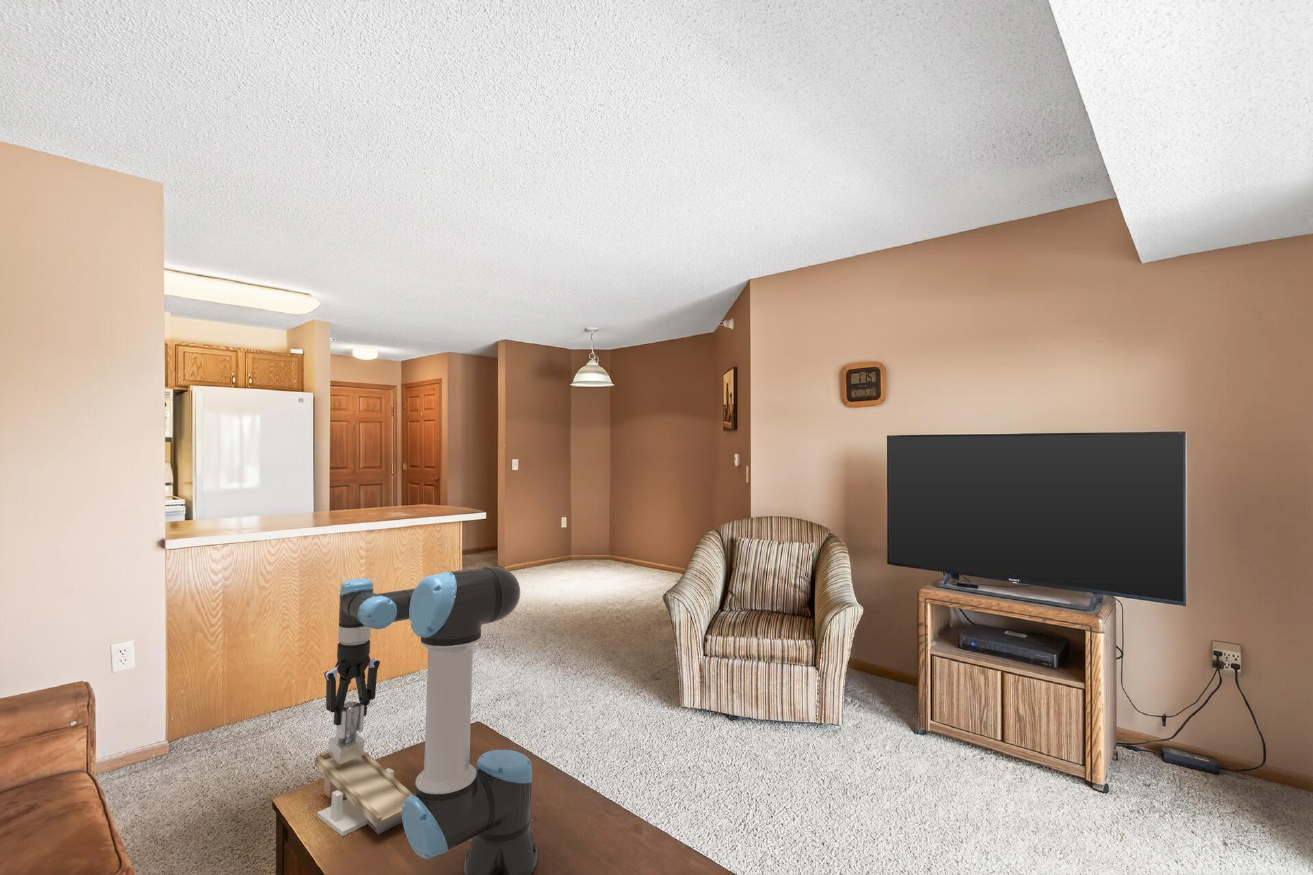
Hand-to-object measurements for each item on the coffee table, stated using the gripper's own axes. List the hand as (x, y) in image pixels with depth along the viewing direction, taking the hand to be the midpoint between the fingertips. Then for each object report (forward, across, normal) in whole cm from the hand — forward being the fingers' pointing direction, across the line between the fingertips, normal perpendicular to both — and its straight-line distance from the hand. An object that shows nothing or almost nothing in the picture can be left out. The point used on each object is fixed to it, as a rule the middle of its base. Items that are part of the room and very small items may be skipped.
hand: (349, 733), depth 152 cm
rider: (+6, 0, -2) cm, 6 cm away
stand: (+16, 0, +4) cm, 17 cm away
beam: (+13, 0, +8) cm, 15 cm away
